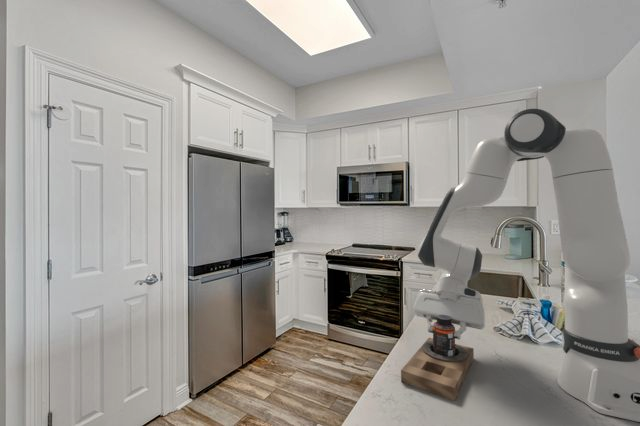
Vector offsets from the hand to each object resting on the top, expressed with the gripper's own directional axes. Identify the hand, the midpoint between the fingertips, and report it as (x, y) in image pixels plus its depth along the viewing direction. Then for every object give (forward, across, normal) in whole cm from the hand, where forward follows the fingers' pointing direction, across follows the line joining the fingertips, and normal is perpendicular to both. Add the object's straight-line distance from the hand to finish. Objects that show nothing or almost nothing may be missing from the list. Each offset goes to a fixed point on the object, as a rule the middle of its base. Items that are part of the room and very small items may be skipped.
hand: (443, 334), depth 84 cm
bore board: (+9, 0, +3) cm, 9 cm away
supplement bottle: (+4, 0, +5) cm, 6 cm away
